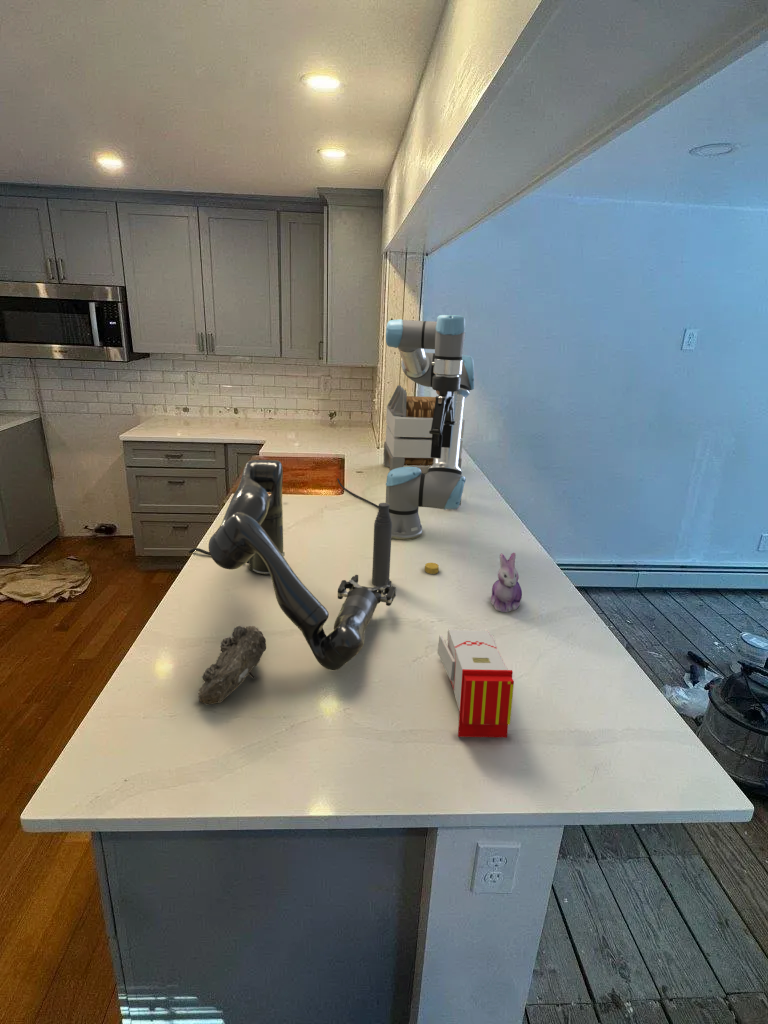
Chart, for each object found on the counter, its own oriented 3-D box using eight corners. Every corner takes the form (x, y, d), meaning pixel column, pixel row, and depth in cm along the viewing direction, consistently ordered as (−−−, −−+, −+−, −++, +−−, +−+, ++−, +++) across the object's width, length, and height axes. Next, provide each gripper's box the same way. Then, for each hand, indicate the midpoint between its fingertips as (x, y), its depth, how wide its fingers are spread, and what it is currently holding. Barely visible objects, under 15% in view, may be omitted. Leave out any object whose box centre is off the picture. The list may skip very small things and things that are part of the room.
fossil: (217, 628, 129) (265, 598, 124) (246, 656, 132) (293, 628, 127) (177, 698, 110) (231, 666, 105) (211, 729, 113) (266, 699, 108)
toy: (488, 613, 130) (523, 677, 101) (484, 667, 133) (517, 744, 104) (435, 612, 130) (455, 676, 101) (432, 666, 133) (451, 743, 103)
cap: (436, 575, 170) (436, 569, 169) (422, 572, 171) (423, 566, 171) (440, 569, 174) (440, 564, 173) (427, 567, 175) (427, 561, 174)
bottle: (369, 580, 165) (372, 502, 157) (384, 578, 167) (388, 500, 159) (375, 588, 161) (379, 508, 152) (391, 585, 163) (395, 506, 154)
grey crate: (382, 463, 289) (386, 382, 275) (445, 464, 293) (451, 384, 279) (390, 482, 257) (394, 392, 243) (460, 483, 261) (468, 394, 247)
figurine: (503, 617, 148) (510, 564, 143) (480, 599, 156) (486, 549, 151) (531, 609, 152) (539, 558, 147) (507, 593, 161) (513, 544, 156)
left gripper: (329, 619, 138) (346, 588, 153) (386, 627, 136) (398, 595, 151) (329, 591, 136) (347, 563, 151) (387, 599, 133) (399, 570, 148)
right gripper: (442, 370, 165) (436, 441, 172) (422, 379, 142) (417, 460, 150) (467, 372, 163) (461, 444, 170) (452, 381, 141) (445, 464, 148)
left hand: (372, 579), depth 151 cm, fingers open, 8 cm apart
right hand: (440, 452), depth 160 cm, fingers open, 13 cm apart
